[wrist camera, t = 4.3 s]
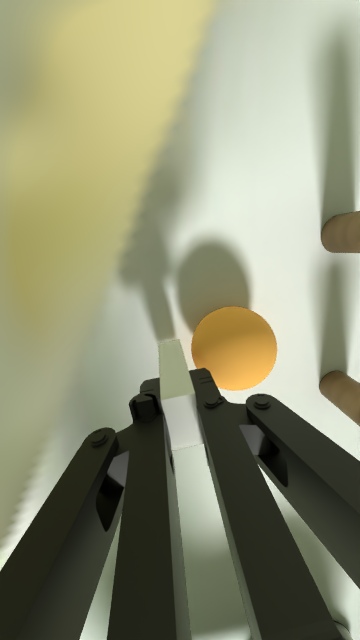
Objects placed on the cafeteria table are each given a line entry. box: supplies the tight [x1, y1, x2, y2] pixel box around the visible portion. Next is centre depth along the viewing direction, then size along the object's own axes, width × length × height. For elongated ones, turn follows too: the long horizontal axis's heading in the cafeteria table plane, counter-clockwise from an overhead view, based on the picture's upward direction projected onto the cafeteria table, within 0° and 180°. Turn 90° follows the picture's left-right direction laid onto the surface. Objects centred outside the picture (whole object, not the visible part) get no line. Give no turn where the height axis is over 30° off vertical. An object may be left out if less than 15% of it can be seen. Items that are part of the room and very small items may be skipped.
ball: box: [191, 306, 277, 391], centre depth 16 cm, size 6×6×6 cm
